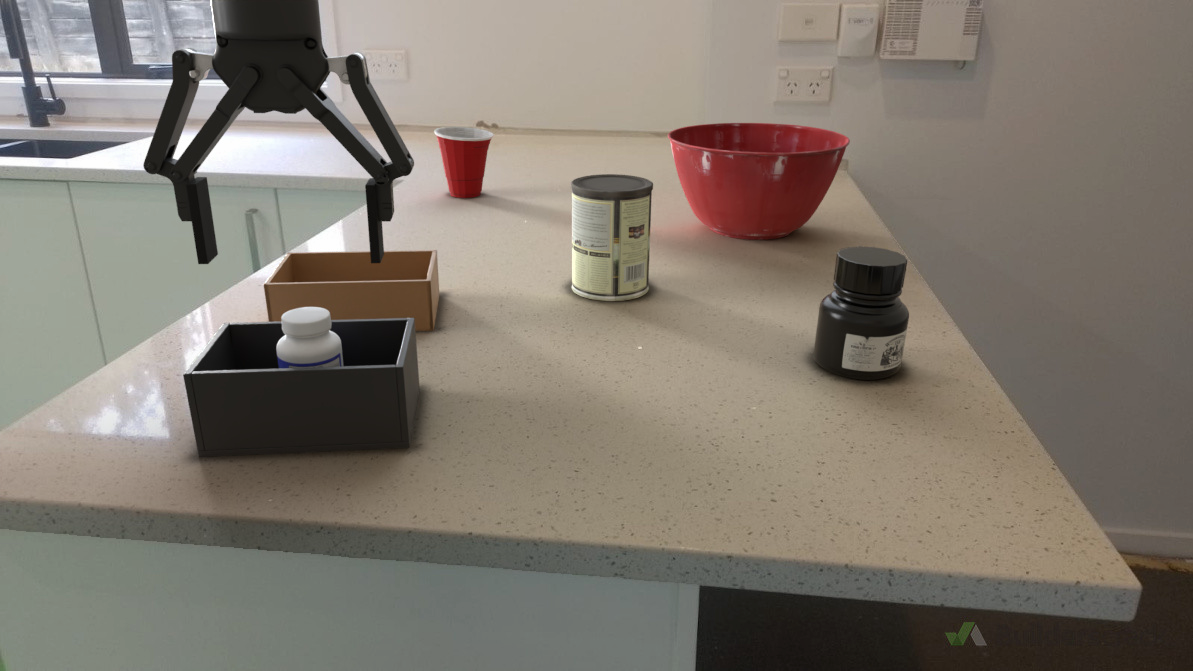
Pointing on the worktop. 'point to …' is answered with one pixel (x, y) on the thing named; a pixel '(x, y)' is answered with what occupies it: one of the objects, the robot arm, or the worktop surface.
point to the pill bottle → (308, 340)
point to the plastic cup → (464, 158)
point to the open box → (304, 391)
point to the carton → (357, 285)
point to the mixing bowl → (755, 175)
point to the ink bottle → (863, 315)
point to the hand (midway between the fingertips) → (294, 259)
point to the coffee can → (611, 236)
